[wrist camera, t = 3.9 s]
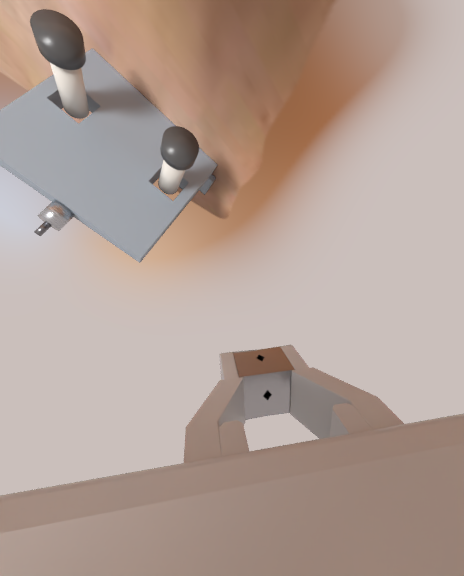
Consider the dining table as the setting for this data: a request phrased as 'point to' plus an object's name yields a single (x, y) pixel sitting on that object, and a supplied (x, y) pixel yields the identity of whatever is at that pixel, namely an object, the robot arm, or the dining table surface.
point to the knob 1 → (63, 57)
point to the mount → (99, 157)
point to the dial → (54, 217)
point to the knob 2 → (176, 157)
